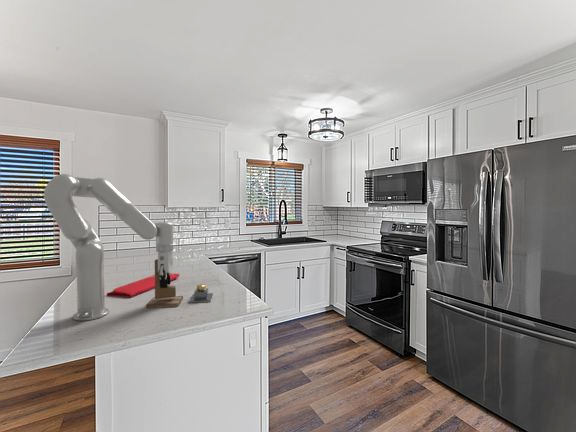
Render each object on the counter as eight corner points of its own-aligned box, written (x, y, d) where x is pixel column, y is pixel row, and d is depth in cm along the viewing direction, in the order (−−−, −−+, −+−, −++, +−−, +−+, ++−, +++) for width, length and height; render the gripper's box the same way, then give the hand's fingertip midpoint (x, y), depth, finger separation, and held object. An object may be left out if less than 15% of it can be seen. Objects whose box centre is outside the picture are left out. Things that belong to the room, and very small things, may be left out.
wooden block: (175, 294, 142) (175, 258, 142) (175, 297, 138) (175, 259, 138) (155, 296, 139) (154, 259, 139) (154, 299, 135) (154, 260, 135)
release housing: (210, 302, 140) (210, 293, 140) (188, 303, 139) (188, 294, 139) (212, 294, 152) (212, 286, 152) (193, 295, 151) (193, 287, 151)
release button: (205, 290, 144) (205, 286, 144) (196, 291, 143) (196, 286, 143) (206, 288, 148) (206, 284, 148) (197, 288, 147) (197, 284, 147)
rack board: (178, 306, 134) (178, 303, 134) (146, 307, 132) (146, 304, 132) (183, 298, 145) (183, 295, 145) (153, 300, 143) (153, 297, 143)
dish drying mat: (105, 296, 150) (105, 289, 150) (159, 277, 190) (159, 272, 190) (131, 299, 146) (131, 291, 146) (180, 279, 186) (180, 273, 186)
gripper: (168, 250, 130) (169, 290, 131) (177, 245, 147) (177, 281, 147) (150, 251, 129) (151, 291, 129) (161, 245, 146) (161, 281, 146)
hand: (165, 285), depth 138 cm, fingers closed on wooden block, 4 cm apart
